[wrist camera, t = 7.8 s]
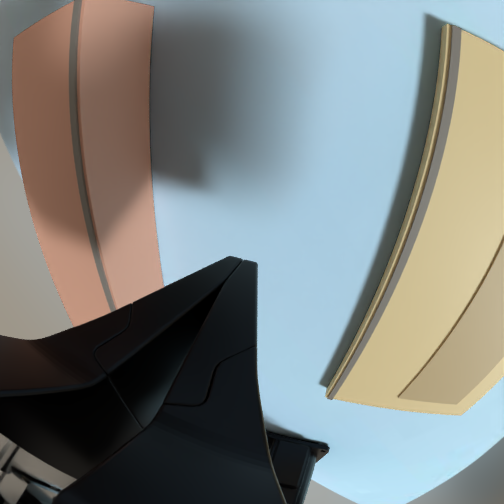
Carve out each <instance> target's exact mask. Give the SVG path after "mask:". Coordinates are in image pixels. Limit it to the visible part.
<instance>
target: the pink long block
mask: <svg viewBox="0 0 504 504" xmlns="http://www.w3.org/2000/svg"><path fill="white" fill-rule="evenodd" d="M153 15H154V6H150V5H146V4H141V3H136V2H131V1H126V0H74V1H73V2H71V3H69V4H67V5H65V6H63V7H62V8H60V9H58V10H56V11H54V12H53V13H51V14H49V15H48V16H46V17H44V18H43V19H41V20H39V21H38V22H36V23H35V24H33V25H32V26H30V27H29V28H27V29H26V30H24V31H23V32H21V33H20V34H19V35H17V36H16V37H14V42H13V59H12V96H13V113H14V125H15V134H16V142H17V149H18V156H19V162H20V168H21V173H22V178H23V183H24V188H25V192H26V196H27V200H28V205H29V208H30V212H31V216H32V219H33V223H34V226H35V230H36V233H37V236H38V240H39V243H40V246H41V249H42V252H43V254H44V257H45V260H46V263H47V266H48V268H49V271H50V274H51V276H52V279H53V281H54V284H55V286H56V289H57V291H58V293H59V296H60V298H61V300H62V302H63V305H64V307H65V309H66V311H67V313H68V315H69V318H70V320H71V322H72V324H73V326H74V327H76V326H78V325H81V324H84V323H86V322H89V321H91V320H94V319H96V318H99V317H101V316H104V315H106V314H108V313H110V312H112V311H115V310H117V309H119V308H121V307H123V306H125V305H127V304H129V303H132V304H133V302H134V301H136V300H138V299H140V298H142V297H144V296H146V295H148V294H150V293H153V292H155V291H157V290H159V289H161V288H163V287H164V285H163V278H162V271H161V264H160V257H159V249H158V241H157V232H156V222H155V212H154V201H153V189H152V174H151V156H150V125H149V85H150V56H151V39H152V26H153Z"/></svg>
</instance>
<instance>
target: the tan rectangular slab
mask: <svg viewBox="0 0 504 504" xmlns="http://www.w3.org/2000/svg"><path fill="white" fill-rule="evenodd" d="M503 376H504V51H502V50H501V49H499V48H497V47H495V46H494V45H492V44H490V43H488V42H486V41H484V40H482V39H480V38H478V37H476V36H474V35H472V34H470V33H468V32H466V31H464V30H462V29H461V28H459V27H457V26H454V25H450V24H446V25H444V26H443V27H442V31H441V47H440V58H439V68H438V76H437V83H436V90H435V97H434V103H433V109H432V114H431V119H430V125H429V129H428V134H427V139H426V143H425V147H424V152H423V156H422V160H421V164H420V168H419V171H418V175H417V179H416V182H415V186H414V189H413V193H412V196H411V199H410V202H409V206H408V209H407V212H406V215H405V218H404V221H403V224H402V227H401V230H400V233H399V235H398V238H397V241H396V244H395V246H394V249H393V252H392V254H391V257H390V260H389V262H388V265H387V267H386V270H385V272H384V275H383V277H382V279H381V282H380V284H379V286H378V289H377V291H376V293H375V296H374V298H373V300H372V302H371V305H370V307H369V309H368V311H367V313H366V315H365V318H364V320H363V322H362V324H361V326H360V328H359V330H358V332H357V334H356V336H355V338H354V340H353V342H352V344H351V346H350V348H349V350H348V352H347V353H346V355H345V357H344V359H343V361H342V363H341V365H340V366H339V368H338V370H337V372H336V374H335V375H334V377H333V379H332V381H331V382H330V384H329V386H328V388H327V390H326V395H325V397H327V399H330V400H332V399H337V400H342V401H347V402H352V403H357V404H363V405H369V406H375V407H381V408H388V409H395V410H402V411H411V412H420V413H431V414H444V415H462V414H463V413H465V412H466V411H467V410H468V409H469V408H470V407H472V406H473V405H474V404H475V403H476V402H477V401H478V400H480V399H481V398H482V397H483V396H484V395H485V394H486V393H487V392H488V391H489V390H490V389H491V388H492V387H493V386H494V385H495V384H496V383H497V382H498V381H499V380H500V379H501V378H502V377H503Z"/></svg>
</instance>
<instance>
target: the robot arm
mask: <svg viewBox="0 0 504 504" xmlns="http://www.w3.org/2000/svg"><path fill="white" fill-rule="evenodd" d="M257 285H258V264H257V263H256V262H253V261H249V260H242V259H241V258H237V257H233V256H228V257H226V258H224V259H222V260H220V261H218V262H215V263H213V264H211V265H209V266H207V267H205V268H203V269H201V270H199V271H196V272H194V273H192V274H190V275H188V276H186V277H184V278H182V279H180V280H178V281H176V282H173V283H171V284H169V285H167V286H165V287H163V288H161V289H159V290H157V291H155V292H153V293H150V294H148V295H146V296H144V297H142V298H140V299H138V300H136V301H134V302H133V304H132V303H129V304H127V305H125V306H123V307H121V308H119V309H117V310H115V311H112V312H110V313H108V314H106V315H104V316H101V317H99V318H96V319H94V320H91V321H89V322H86V323H84V324H81V325H78V326H76V327H73V328H70V329H68V330H65V331H62V332H60V333H57V334H54V335H51V336H49V337H45V338H42V339H37V340H24V339H18V338H12V337H7V336H2V335H0V504H303V503H304V500H305V496H306V494H307V491H308V487H309V484H310V481H311V477H312V474H313V470H314V466H315V463H316V462H318V461H319V460H320V459H321V458H322V457H324V456H325V455H326V454H327V453H328V452H329V449H330V447H328V446H324V445H319V444H314V443H310V442H305V441H301V440H296V439H292V438H288V437H284V436H280V435H276V434H273V433H269V432H266V430H265V424H264V418H263V412H262V406H261V400H260V393H259V385H258V374H257Z"/></svg>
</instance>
